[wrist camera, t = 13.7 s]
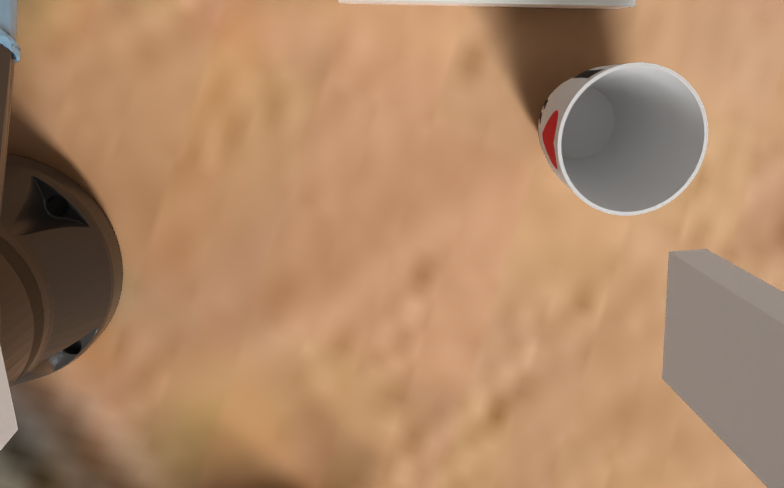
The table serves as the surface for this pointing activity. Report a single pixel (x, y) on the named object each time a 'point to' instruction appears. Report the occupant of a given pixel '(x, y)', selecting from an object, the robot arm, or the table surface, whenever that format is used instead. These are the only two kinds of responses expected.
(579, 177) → the cup
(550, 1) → the tray
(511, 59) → the table surface
